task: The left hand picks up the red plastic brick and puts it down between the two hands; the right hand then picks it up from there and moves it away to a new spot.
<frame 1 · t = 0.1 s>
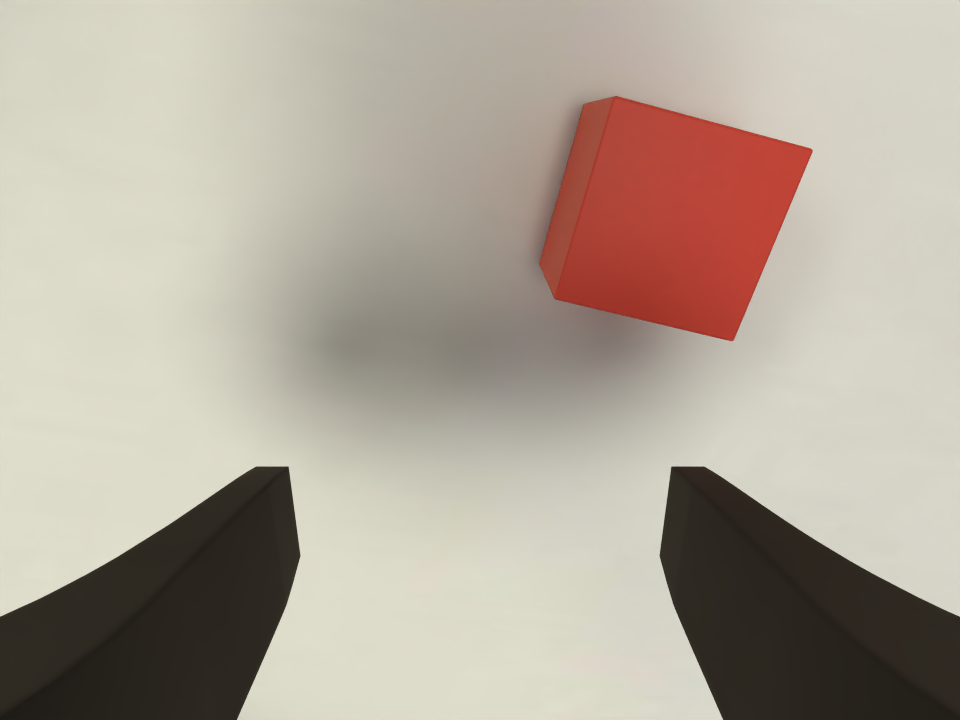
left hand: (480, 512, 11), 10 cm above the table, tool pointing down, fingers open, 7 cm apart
brick: (636, 206, 19), on the table
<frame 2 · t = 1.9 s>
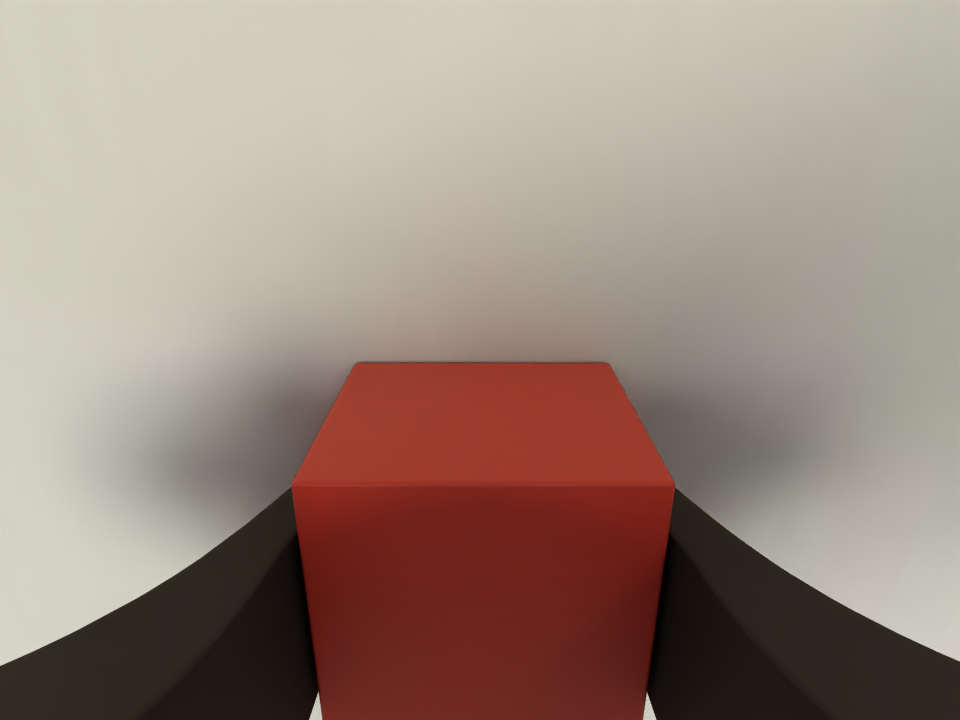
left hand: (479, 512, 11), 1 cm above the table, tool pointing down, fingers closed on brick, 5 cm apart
brick: (482, 472, 13), on the table, touching left hand
when the left hand's fingers open (2 cm above the table, at t = 8.4 s): brick stays where it is, on the table.
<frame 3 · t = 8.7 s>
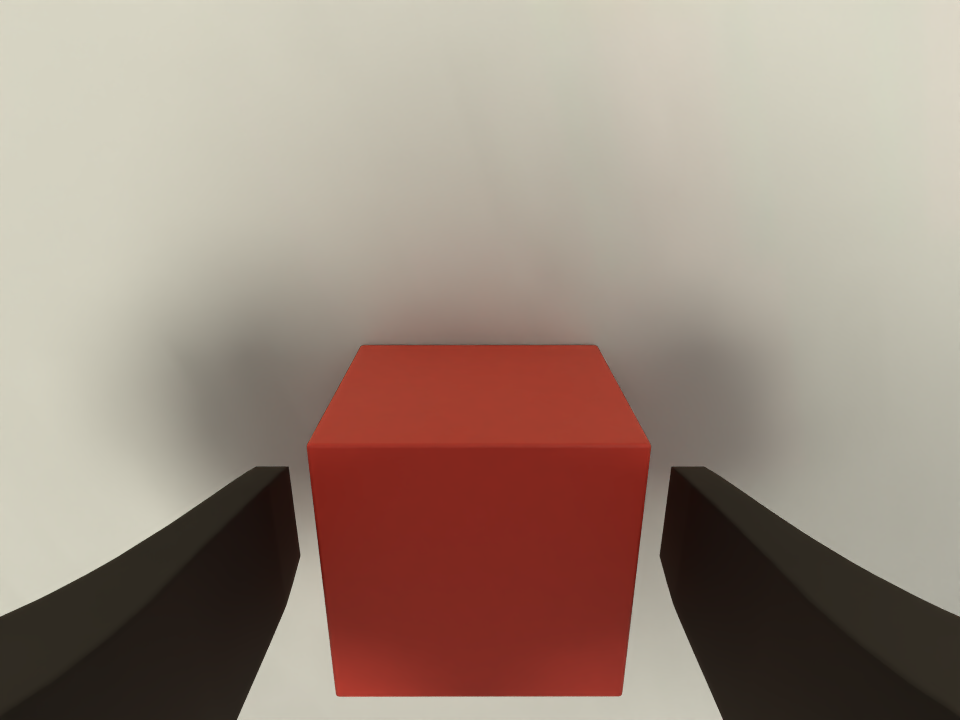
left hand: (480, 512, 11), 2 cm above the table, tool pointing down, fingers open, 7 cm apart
brick: (479, 448, 13), on the table
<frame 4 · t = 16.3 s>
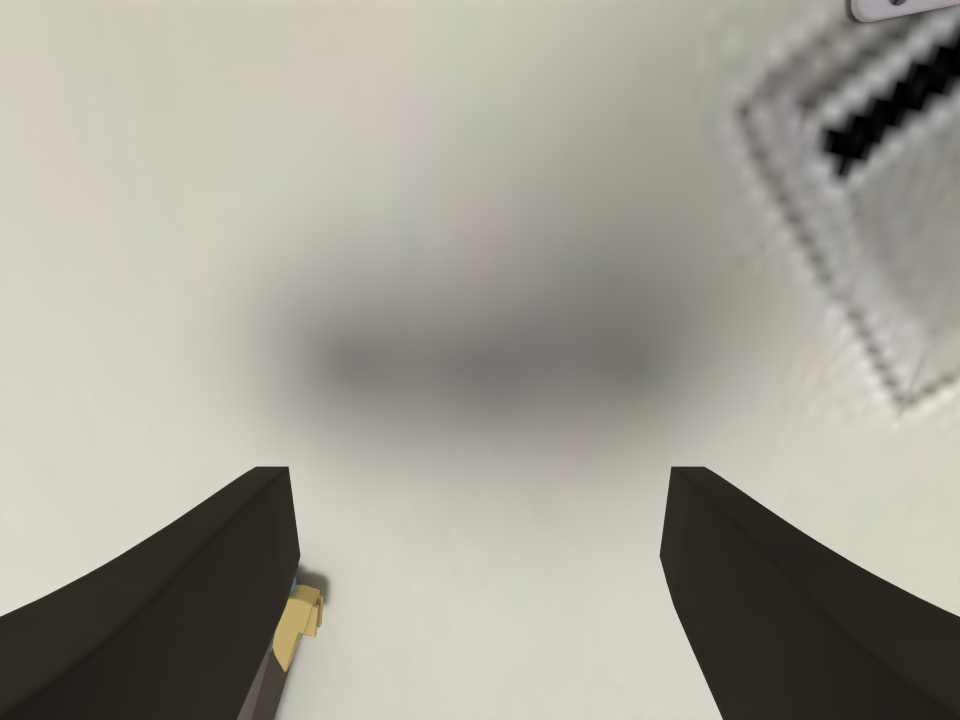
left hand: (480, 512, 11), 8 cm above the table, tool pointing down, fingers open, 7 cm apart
toy gun: (167, 715, 25), on the table
when the right hand's fingers open (1 cm above the table, at t = 22.1 s): brick stays where it is, on the table.
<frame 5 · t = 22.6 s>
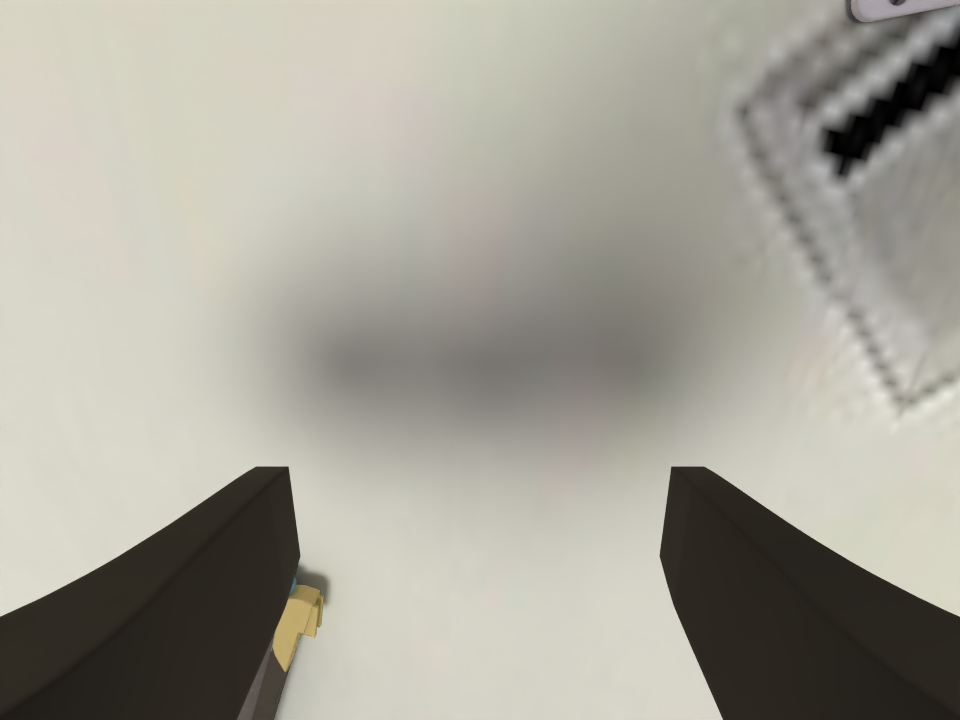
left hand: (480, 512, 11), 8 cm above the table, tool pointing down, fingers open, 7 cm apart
toy gun: (167, 715, 25), on the table
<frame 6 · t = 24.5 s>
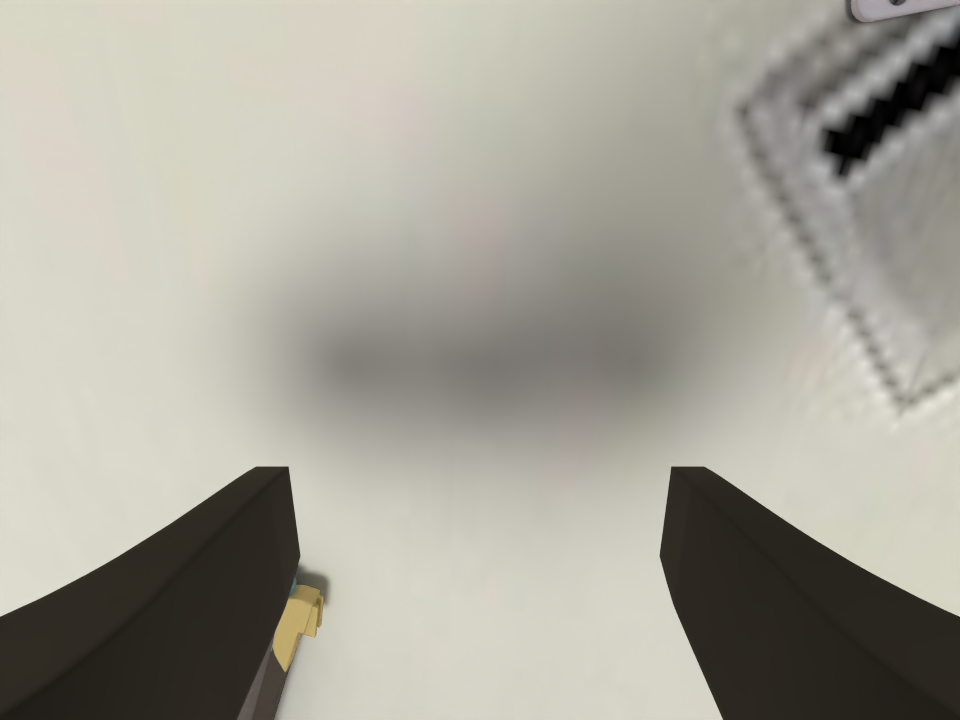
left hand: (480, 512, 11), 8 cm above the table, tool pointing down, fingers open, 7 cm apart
toy gun: (167, 715, 25), on the table
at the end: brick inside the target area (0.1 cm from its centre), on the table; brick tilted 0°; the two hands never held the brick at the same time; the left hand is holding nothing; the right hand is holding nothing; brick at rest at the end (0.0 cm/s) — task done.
